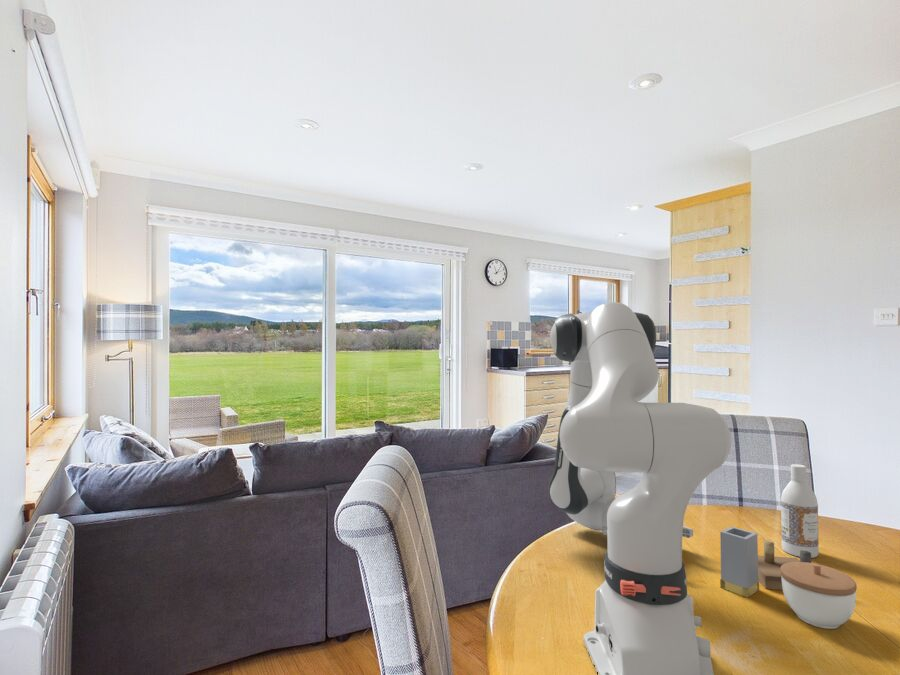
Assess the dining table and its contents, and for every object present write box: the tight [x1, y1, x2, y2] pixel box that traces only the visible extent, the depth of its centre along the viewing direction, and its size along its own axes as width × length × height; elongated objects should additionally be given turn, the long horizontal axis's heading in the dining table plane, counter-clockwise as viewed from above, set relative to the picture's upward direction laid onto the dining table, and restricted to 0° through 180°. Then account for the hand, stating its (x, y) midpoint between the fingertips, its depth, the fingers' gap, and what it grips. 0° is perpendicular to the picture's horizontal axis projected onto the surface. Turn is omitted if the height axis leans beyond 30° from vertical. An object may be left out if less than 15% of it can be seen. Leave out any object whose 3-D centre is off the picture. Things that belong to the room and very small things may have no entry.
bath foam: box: [780, 463, 820, 559], centre depth 114 cm, size 7×7×20 cm
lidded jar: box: [780, 562, 858, 630], centre depth 87 cm, size 11×11×9 cm
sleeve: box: [719, 525, 760, 598], centre depth 98 cm, size 5×5×11 cm
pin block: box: [758, 540, 812, 591], centre depth 101 cm, size 10×10×6 cm
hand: (680, 538), depth 107 cm, fingers open, 8 cm apart
